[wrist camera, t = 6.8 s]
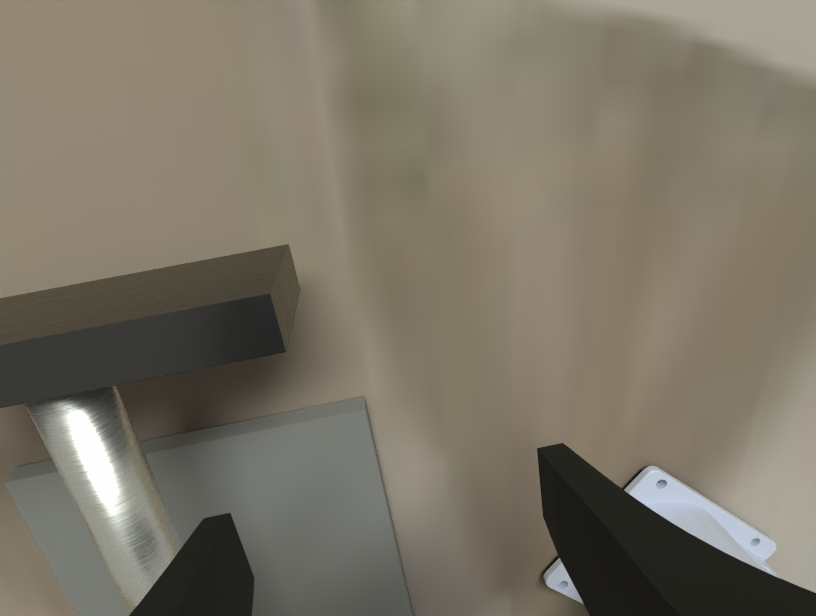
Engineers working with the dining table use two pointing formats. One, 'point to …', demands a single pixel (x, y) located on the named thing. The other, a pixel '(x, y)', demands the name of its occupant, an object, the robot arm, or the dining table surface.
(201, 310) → the grey and silver t-piece
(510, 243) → the dining table surface
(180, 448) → the mat
